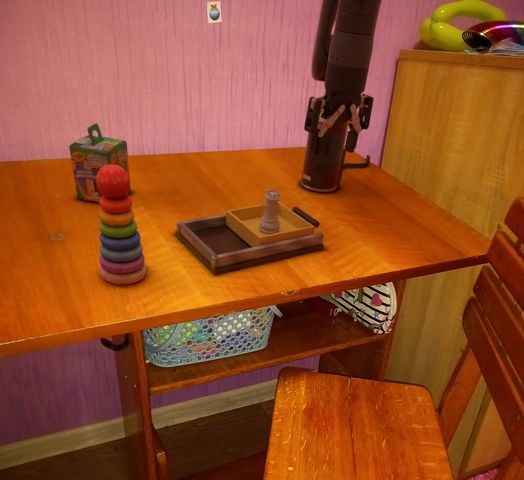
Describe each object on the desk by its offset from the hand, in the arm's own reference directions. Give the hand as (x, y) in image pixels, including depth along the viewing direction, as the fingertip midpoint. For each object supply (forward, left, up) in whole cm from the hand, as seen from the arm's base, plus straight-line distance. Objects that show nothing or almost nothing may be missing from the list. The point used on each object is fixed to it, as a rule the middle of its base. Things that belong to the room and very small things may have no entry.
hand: (332, 153), depth 98 cm
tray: (+12, 0, -14) cm, 19 cm away
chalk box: (+37, -32, -16) cm, 51 cm away
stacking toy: (+45, +2, -16) cm, 48 cm away
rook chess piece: (+14, 0, -14) cm, 20 cm away
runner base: (+18, 0, -16) cm, 24 cm away
